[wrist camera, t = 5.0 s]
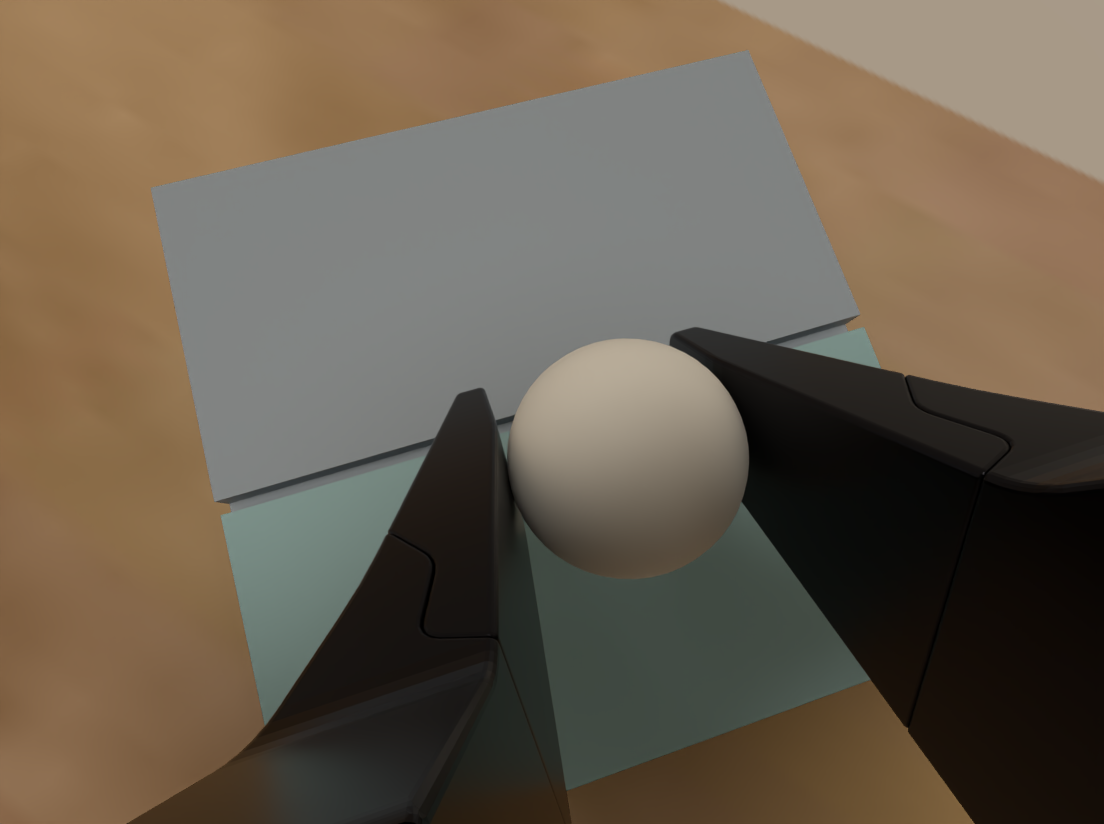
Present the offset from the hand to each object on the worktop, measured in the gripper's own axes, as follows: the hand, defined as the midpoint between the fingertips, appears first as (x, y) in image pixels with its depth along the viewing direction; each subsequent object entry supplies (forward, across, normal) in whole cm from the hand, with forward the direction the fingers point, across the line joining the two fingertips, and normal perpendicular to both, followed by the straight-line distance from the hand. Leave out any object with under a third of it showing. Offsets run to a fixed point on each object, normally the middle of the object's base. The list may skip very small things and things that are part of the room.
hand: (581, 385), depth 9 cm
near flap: (+1, 0, +5) cm, 5 cm away
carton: (+7, 0, +6) cm, 9 cm away
